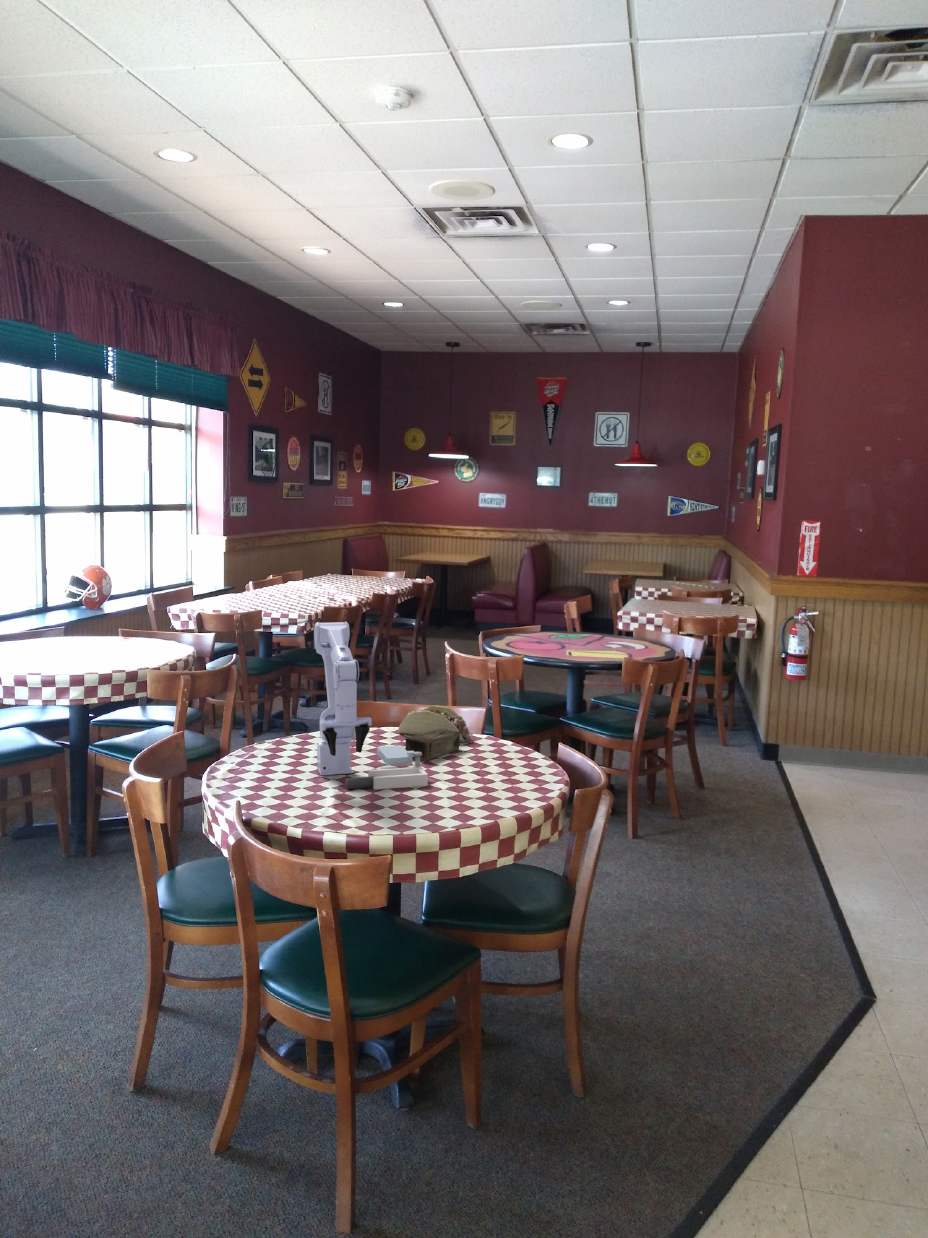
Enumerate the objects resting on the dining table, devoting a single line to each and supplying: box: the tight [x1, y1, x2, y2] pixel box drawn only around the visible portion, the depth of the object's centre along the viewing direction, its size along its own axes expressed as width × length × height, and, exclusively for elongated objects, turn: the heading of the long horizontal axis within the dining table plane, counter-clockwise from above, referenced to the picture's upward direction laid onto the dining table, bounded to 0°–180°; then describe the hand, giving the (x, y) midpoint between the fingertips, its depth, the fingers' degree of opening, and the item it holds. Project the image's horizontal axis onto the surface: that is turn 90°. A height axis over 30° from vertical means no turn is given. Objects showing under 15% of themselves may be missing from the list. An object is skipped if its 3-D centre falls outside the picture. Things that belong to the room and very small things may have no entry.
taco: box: [398, 705, 473, 743], centre depth 306 cm, size 10×27×10 cm, turn 64°
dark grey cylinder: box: [345, 776, 376, 790], centre depth 249 cm, size 8×3×3 cm
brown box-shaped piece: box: [404, 728, 461, 762], centre depth 285 cm, size 8×19×7 cm, turn 145°
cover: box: [376, 744, 422, 766], centre depth 265 cm, size 15×10×3 cm, turn 17°
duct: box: [367, 756, 429, 790], centre depth 254 cm, size 15×10×6 cm, turn 107°
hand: (345, 753), depth 251 cm, fingers open, 7 cm apart
